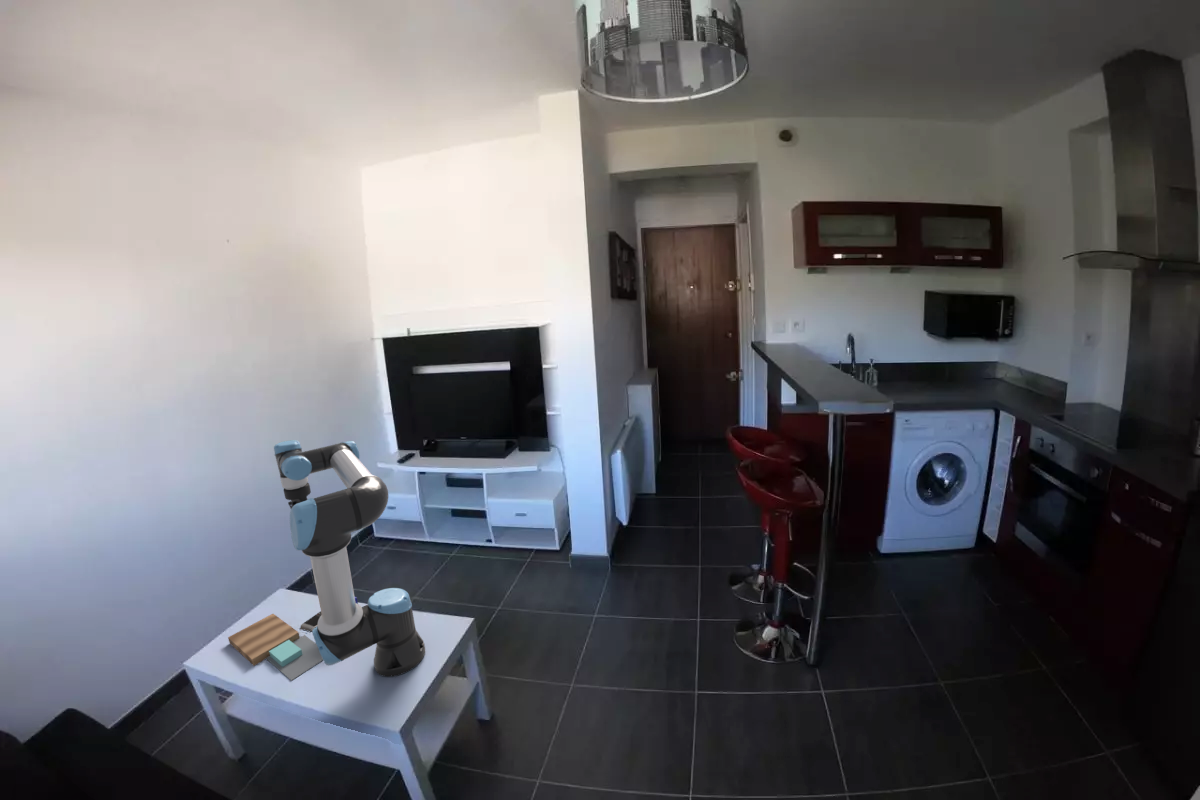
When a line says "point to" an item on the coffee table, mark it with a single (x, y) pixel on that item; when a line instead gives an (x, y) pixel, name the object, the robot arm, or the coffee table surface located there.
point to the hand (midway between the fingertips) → (310, 547)
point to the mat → (300, 659)
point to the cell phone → (311, 622)
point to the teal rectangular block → (285, 653)
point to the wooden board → (262, 638)
